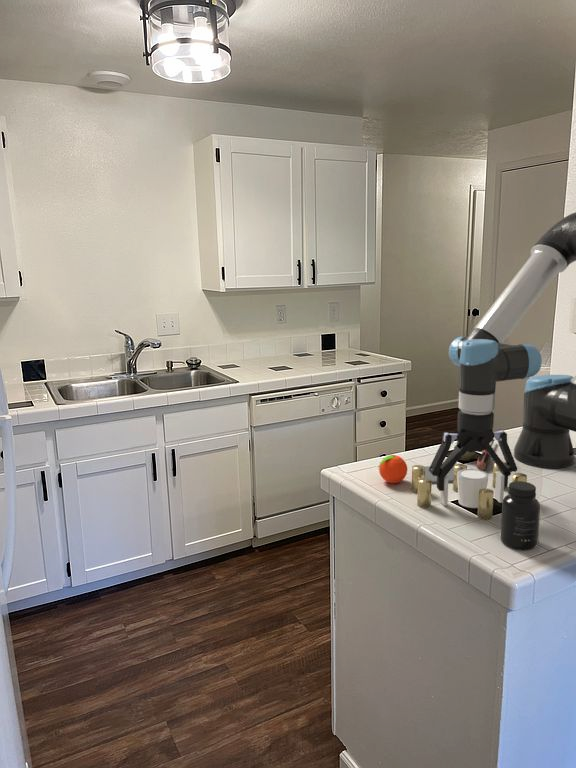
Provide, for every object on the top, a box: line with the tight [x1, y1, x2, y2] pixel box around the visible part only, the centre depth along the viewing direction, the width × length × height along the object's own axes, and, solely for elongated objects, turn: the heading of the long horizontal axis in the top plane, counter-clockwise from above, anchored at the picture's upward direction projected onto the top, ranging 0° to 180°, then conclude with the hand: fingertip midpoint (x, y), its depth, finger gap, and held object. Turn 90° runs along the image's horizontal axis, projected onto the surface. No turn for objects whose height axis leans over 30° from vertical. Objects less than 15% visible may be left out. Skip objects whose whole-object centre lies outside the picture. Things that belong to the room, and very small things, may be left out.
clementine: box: [378, 454, 408, 484], centre depth 143 cm, size 8×7×7 cm
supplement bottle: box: [500, 481, 541, 551], centre depth 112 cm, size 7×7×12 cm
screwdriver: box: [476, 438, 495, 471], centre depth 160 cm, size 25×3×3 cm, turn 153°
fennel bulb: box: [456, 440, 477, 462], centre depth 157 cm, size 6×5×12 cm
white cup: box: [457, 468, 490, 509], centre depth 131 cm, size 7×7×7 cm
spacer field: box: [411, 460, 528, 521], centre depth 131 cm, size 25×18×6 cm
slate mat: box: [424, 465, 454, 485], centre depth 148 cm, size 11×10×1 cm
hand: (471, 501), depth 131 cm, fingers open, 12 cm apart
